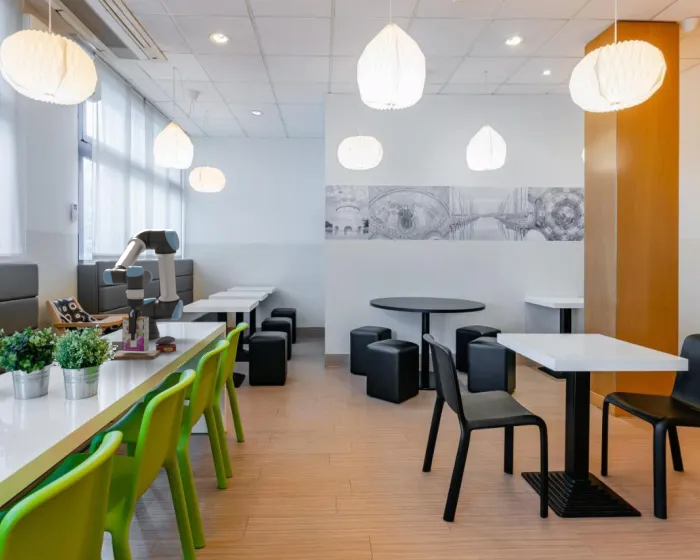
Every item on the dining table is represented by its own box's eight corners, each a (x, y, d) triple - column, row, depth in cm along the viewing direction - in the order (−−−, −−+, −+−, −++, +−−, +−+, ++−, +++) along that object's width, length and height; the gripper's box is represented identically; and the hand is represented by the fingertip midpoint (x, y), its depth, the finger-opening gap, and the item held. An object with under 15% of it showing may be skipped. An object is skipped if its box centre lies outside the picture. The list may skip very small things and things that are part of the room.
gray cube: (115, 349, 245) (115, 339, 245) (125, 349, 246) (125, 339, 245) (112, 351, 240) (111, 341, 240) (122, 351, 241) (122, 341, 240)
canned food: (157, 361, 239) (147, 344, 238) (165, 355, 249) (155, 339, 248) (176, 351, 238) (166, 334, 237) (183, 346, 248) (174, 329, 247)
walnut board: (119, 353, 234) (119, 350, 234) (160, 353, 237) (160, 350, 237) (108, 359, 221) (108, 356, 220) (153, 359, 223) (153, 356, 223)
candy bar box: (121, 351, 227) (121, 317, 226) (127, 349, 232) (127, 315, 231) (143, 351, 226) (143, 317, 225) (149, 349, 231) (149, 316, 230)
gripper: (133, 296, 236) (133, 342, 237) (120, 300, 218) (120, 349, 219) (149, 296, 237) (149, 342, 238) (137, 300, 219) (137, 349, 220)
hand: (135, 345), depth 229 cm, fingers closed on candy bar box, 6 cm apart
